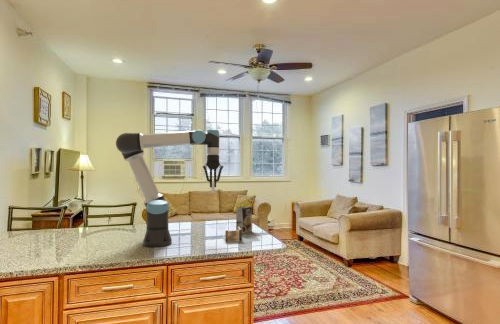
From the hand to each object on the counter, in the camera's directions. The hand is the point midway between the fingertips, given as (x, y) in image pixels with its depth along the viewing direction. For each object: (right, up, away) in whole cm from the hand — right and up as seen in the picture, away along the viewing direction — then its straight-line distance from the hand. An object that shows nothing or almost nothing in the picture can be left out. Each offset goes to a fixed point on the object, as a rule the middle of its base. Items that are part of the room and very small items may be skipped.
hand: (212, 192), depth 196 cm
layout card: (+17, -26, -9) cm, 33 cm away
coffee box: (+19, -27, +10) cm, 34 cm away
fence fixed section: (+14, -26, -15) cm, 33 cm away
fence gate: (+17, -26, -8) cm, 32 cm away
